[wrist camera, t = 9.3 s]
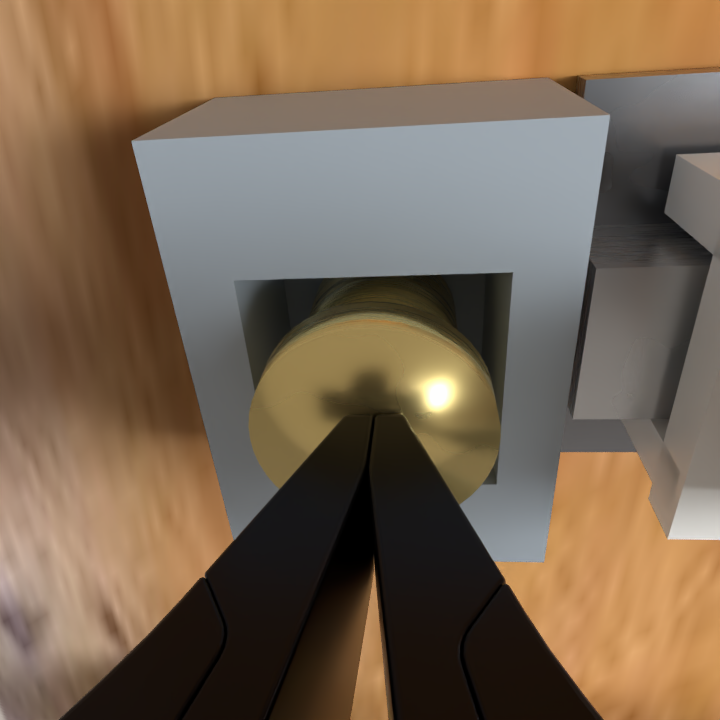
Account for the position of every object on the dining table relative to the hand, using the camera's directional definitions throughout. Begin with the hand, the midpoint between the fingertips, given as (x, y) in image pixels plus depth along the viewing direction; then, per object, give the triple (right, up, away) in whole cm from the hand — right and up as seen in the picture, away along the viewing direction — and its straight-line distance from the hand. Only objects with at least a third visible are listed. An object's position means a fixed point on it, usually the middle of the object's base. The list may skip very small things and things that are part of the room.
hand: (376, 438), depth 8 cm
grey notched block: (0, +3, +4) cm, 5 cm away
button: (0, +2, +3) cm, 4 cm away
